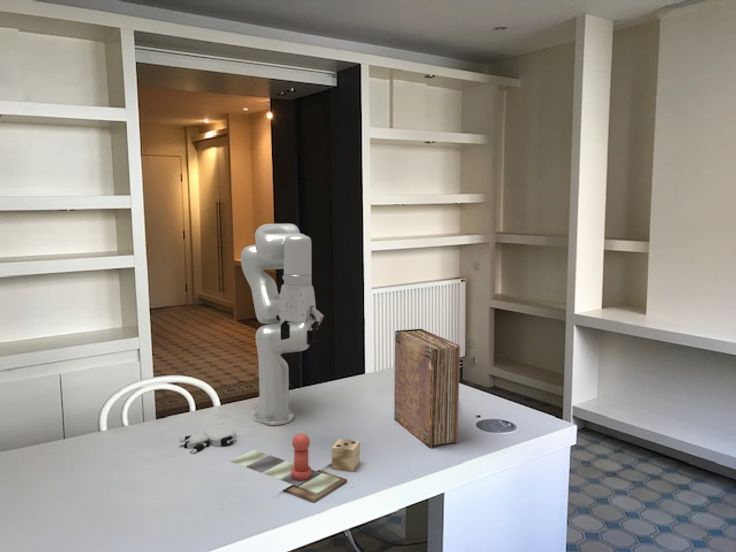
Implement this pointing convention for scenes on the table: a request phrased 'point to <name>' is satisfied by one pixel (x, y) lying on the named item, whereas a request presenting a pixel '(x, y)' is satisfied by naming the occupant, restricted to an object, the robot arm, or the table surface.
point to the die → (345, 455)
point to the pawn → (301, 458)
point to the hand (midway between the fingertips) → (298, 341)
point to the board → (307, 489)
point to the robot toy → (210, 438)
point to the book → (427, 386)
